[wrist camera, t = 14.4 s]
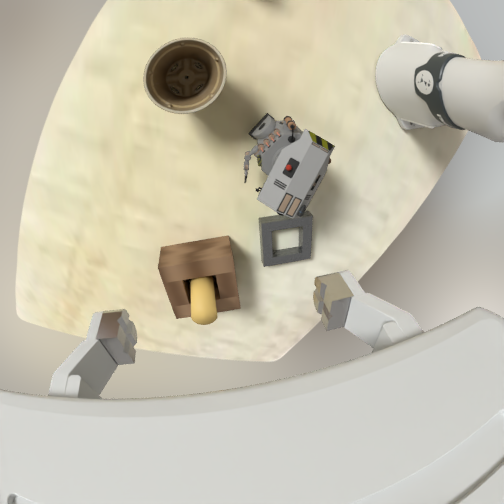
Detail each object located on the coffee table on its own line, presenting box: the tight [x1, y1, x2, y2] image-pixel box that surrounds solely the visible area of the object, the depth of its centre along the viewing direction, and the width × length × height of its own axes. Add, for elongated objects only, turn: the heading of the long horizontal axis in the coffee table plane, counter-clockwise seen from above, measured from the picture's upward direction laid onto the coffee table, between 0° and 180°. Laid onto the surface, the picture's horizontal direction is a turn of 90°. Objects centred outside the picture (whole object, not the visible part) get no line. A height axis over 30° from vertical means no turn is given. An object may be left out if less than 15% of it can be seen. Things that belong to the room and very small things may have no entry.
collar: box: [259, 211, 313, 267], centre depth 50 cm, size 9×9×2 cm
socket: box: [158, 236, 240, 319], centre depth 49 cm, size 12×12×6 cm
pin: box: [191, 275, 217, 325], centre depth 46 cm, size 4×4×12 cm
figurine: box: [244, 113, 335, 219], centre depth 35 cm, size 9×12×15 cm
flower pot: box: [143, 38, 227, 114], centre depth 29 cm, size 9×9×9 cm
